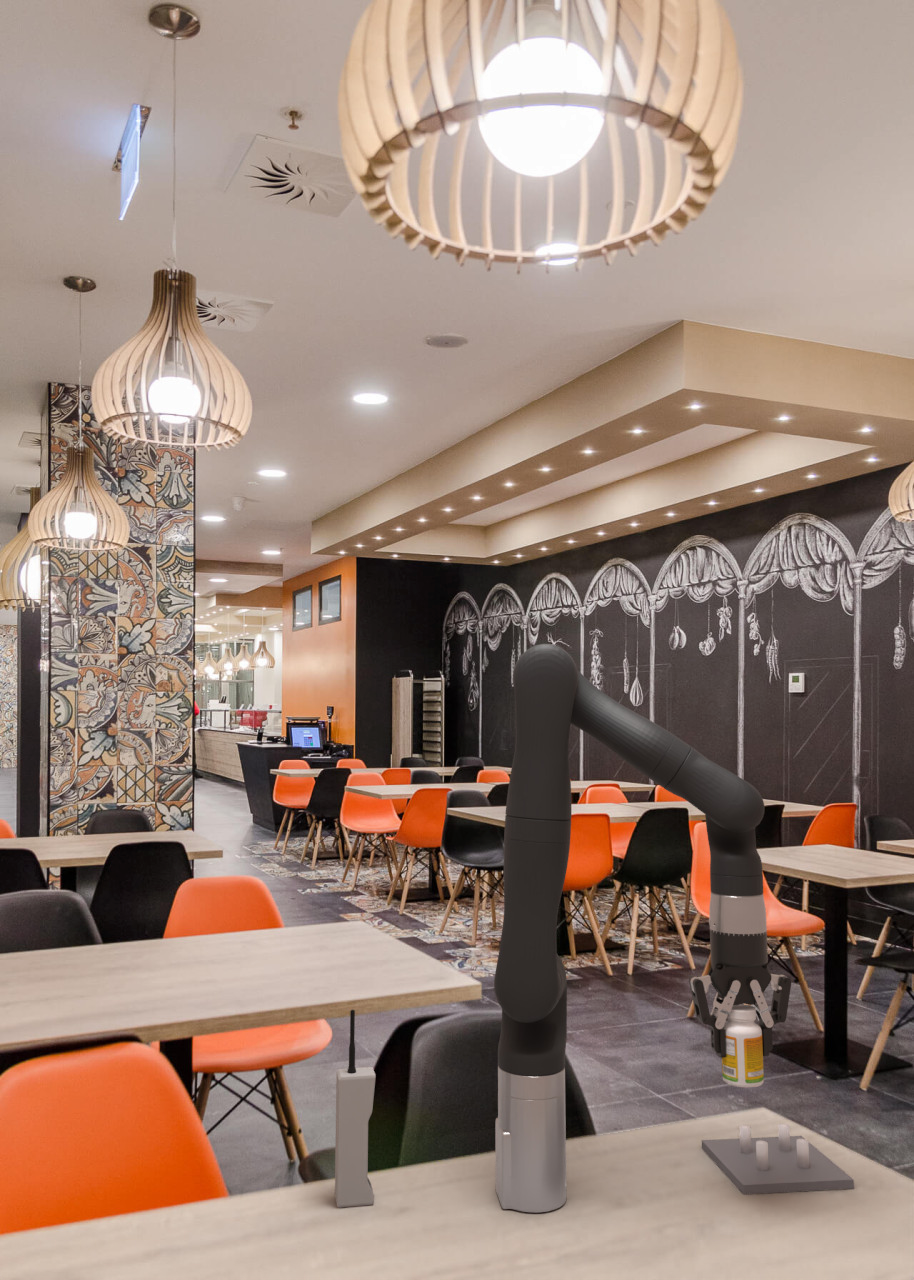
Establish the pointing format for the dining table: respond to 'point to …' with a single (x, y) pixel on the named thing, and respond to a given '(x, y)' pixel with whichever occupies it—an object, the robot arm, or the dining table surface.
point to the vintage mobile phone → (353, 1130)
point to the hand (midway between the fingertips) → (742, 1054)
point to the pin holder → (775, 1163)
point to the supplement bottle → (743, 1048)
